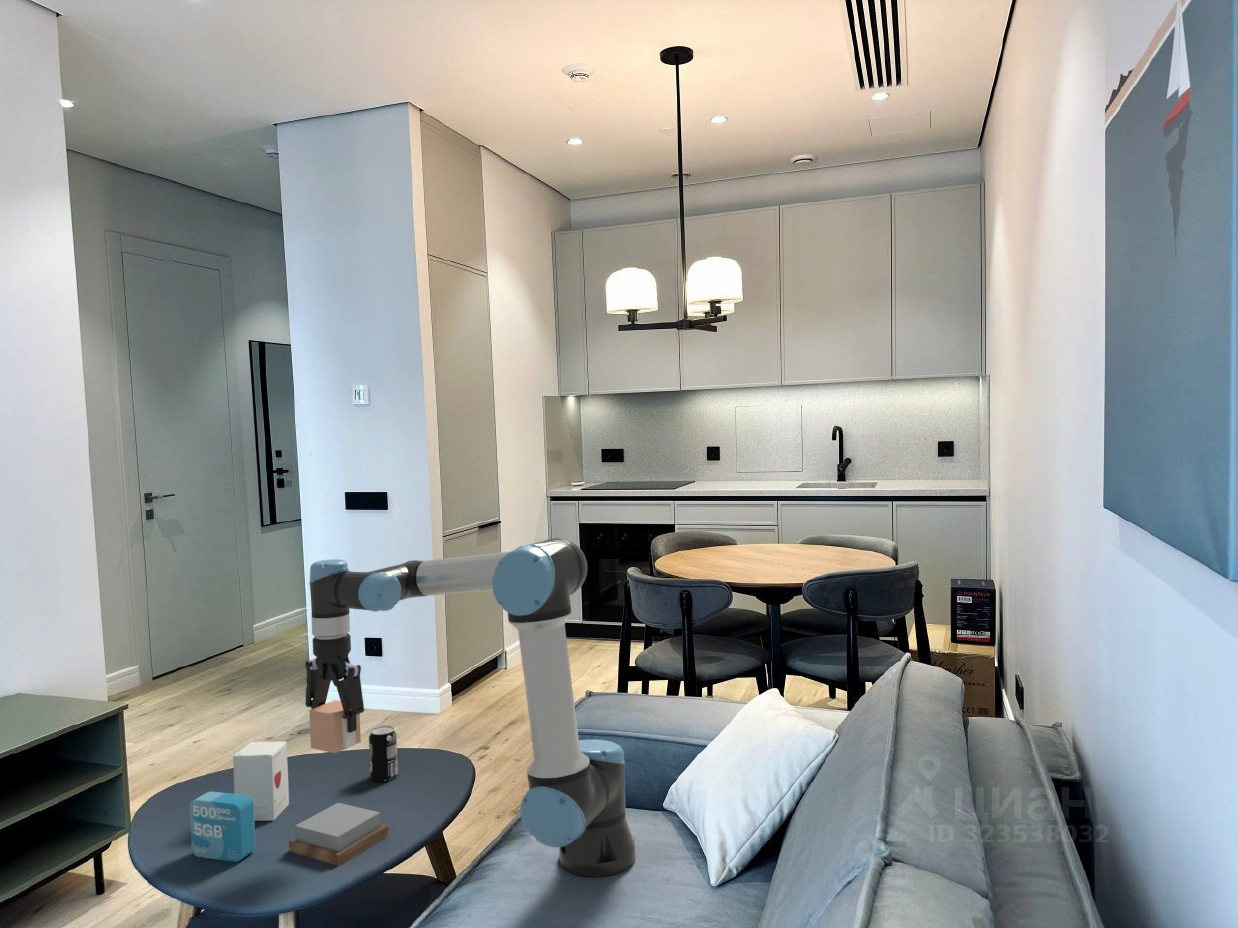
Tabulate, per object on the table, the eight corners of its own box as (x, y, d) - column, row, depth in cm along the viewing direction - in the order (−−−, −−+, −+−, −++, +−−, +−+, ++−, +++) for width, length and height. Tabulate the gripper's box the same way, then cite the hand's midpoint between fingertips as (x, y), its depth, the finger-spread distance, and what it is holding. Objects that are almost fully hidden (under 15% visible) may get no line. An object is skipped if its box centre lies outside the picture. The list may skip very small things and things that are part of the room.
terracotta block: (360, 741, 184) (359, 704, 184) (335, 753, 178) (333, 714, 177) (336, 736, 187) (335, 699, 187) (310, 747, 181) (309, 709, 181)
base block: (388, 839, 186) (388, 825, 186) (338, 869, 174) (338, 854, 174) (340, 826, 193) (340, 812, 193) (289, 854, 181) (288, 840, 180)
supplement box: (274, 821, 194) (271, 755, 194) (234, 822, 194) (231, 755, 194) (290, 803, 203) (287, 740, 203) (252, 804, 204) (249, 740, 203)
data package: (191, 856, 179) (188, 799, 178) (207, 846, 183) (204, 790, 183) (241, 863, 176) (238, 804, 175) (256, 852, 180) (253, 795, 180)
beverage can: (368, 775, 219) (366, 727, 218) (395, 770, 222) (393, 723, 221) (372, 784, 213) (370, 736, 212) (400, 779, 216) (398, 731, 215)
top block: (380, 826, 186) (380, 812, 186) (338, 851, 175) (337, 836, 175) (338, 815, 191) (338, 802, 191) (295, 839, 181) (294, 825, 180)
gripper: (380, 635, 180) (384, 745, 181) (311, 626, 189) (316, 730, 191) (353, 643, 173) (357, 757, 174) (283, 634, 183) (288, 742, 184)
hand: (336, 743), depth 183 cm, fingers closed on terracotta block, 7 cm apart
